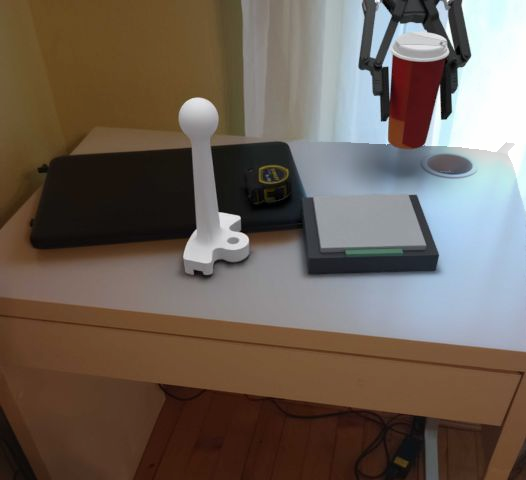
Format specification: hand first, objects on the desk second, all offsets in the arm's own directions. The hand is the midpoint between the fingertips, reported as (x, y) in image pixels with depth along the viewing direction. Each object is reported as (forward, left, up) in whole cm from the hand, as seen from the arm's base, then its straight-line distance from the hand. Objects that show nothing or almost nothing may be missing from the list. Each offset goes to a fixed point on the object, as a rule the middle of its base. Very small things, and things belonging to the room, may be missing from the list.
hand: (415, 116), depth 87 cm
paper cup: (0, -3, -5) cm, 6 cm away
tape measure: (+21, +3, -10) cm, 24 cm away
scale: (+8, +14, -10) cm, 19 cm away
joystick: (+27, +16, -10) cm, 33 cm away
